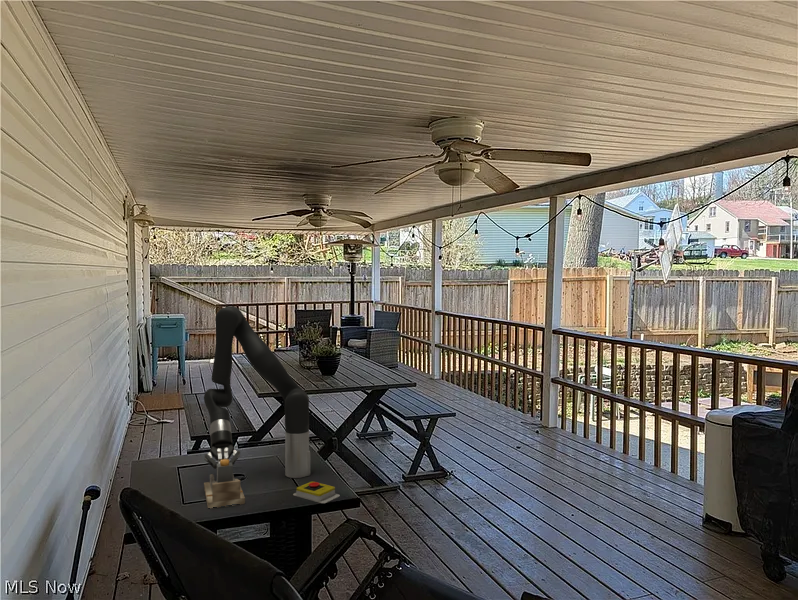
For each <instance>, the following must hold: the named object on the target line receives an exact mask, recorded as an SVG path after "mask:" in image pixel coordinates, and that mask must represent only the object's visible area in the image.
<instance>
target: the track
mask: <svg viewBox="0 0 798 600" xmlns="http://www.w3.org/2000/svg"><path fill="white" fill-rule="evenodd" d="M203 490H204V494H205V500H206V506H207V509H208V508H210V509H214V508H213V507H217V508H222V507H221V506H225V507H227V506H226V505H232V504H240V505H245V503H246V496H245V495H244V491H243V488H242V486H241V479H238V478H235V475H234V474H233V481H228V482H220V483H217V480H216V479H215V475H214V473H212V474H209V481H207V482H203ZM232 506H233V505H232Z"/></svg>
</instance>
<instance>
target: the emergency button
mask: <svg viewBox="0 0 798 600" xmlns="http://www.w3.org/2000/svg"><path fill="white" fill-rule="evenodd" d="M292 495H293V496H295V497H297V498H302V499H306V500H309V501H312V502H315V503H318V504H319V503H320V504H326V503H329V502H330V501H333V500H335V499H338V498H339V497H340V494H338V493H336V487H335V486H334V485H333V486H332V485H329V484H324V483H321V482H317V481H309V482H307V483H305V484H302V485H299V486H297V487H296V491H295V492H294V493H293V494H292Z"/></svg>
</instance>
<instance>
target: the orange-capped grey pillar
mask: <svg viewBox="0 0 798 600" xmlns="http://www.w3.org/2000/svg"><path fill="white" fill-rule="evenodd" d="M229 462H230V458H229V459H222V460H220V464H217V468H216V481H217V483H220V482H228V481H233V475H234V472H233V471H234V464H233V465H232V462H230V463H229Z"/></svg>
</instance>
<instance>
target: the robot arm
mask: <svg viewBox="0 0 798 600" xmlns="http://www.w3.org/2000/svg"><path fill="white" fill-rule="evenodd" d="M214 318H215V347H214V348H215V349H214V357H213V365H212V370H211V371H212V373H211V381H212V382H213V383H214V384H218V385H221V386H223V388H209V389H207V390H206V391H204V395H203V402H204V405H205V407H206V410H207V411H208V415H209V420H210V421H209V423H210V428H209V433H210V434H209V436H210V450H209V452H208V453H205V454H204V461H206V463H208V465H210V466H211V467H212V468H213V469H214V470H217V464H220V460H222V459H229V463H230V462H232V465H233V466H234V465H235V463H236V462H237V461H238V459H239V458H240V456H241V451H240V450H236V449H235V447H234V445H233V437H232V436H233V434H232V427H231V421H230V412H229V410H228V409H227V408H228V407H229V406H231V404H232V403H233V392H232V387H231V384H232V383H231V377H232V370H233V341H234V338H235V339H236V340H237V341H238V343H239V345H240V346H241V348H242V351H243V352H244V355H245V357H246V359H247V360H248V362H249V363H250V365H251V366H252V367H253V368H254V369H255V371H256V372H257V373H258V374H259V375H260V376H261V377H262V378H263V379H264V380H265V381H267V383H269V384H270V385H272V386H273V387H274V388H275V390H276V391H277V392H278V393H279V395H280V396H281V397H282V399H283V401H284V428H285V429H284V435H285V436H284V437H285V439H284V441H285V443H284V446H285V447H284V449H285V450H284V452H285V453H284V454H285V457H284V461H285V463H284V464H285V467H284V468H285V469H284V471H285V472H284V474H285V476H286V477H287V478H291V479H299V478H305V477H307V476H311V451H310V398H309V395H308V393H307V392H306V391H305V390H304V389H302V387H300V385H298V383H297V382H296V381H295V380H294V379H293V378H292V377H291V376H290V374H289V373H288V371H287V370H286V369H285V367H284V365H283V364H282V362H281V361H280V360H279V359H278V357H277V356H276V354H275V353H274V352H273V351H272V350H271V348H270V347H269V346H268V345H267V344H266V342H265V341H264V340H263V339H262V338H261V337H260V336H259V335H258V333H256V331H255V330H254V329H253V328H252V327H251V325H250V323H249V321H248V320H247V318H246V316H244V314H243V312H242V311H241V310H240V308H238V307H236V306H234V305H228V306H226V307H225V306H224V307H222V308H220V309H218V311H217V312H216V315H215V317H214ZM232 456H233V457H232ZM231 457H232V458H231ZM230 458H231V459H230ZM215 460H216V461H217V462H216V461H215Z"/></svg>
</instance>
